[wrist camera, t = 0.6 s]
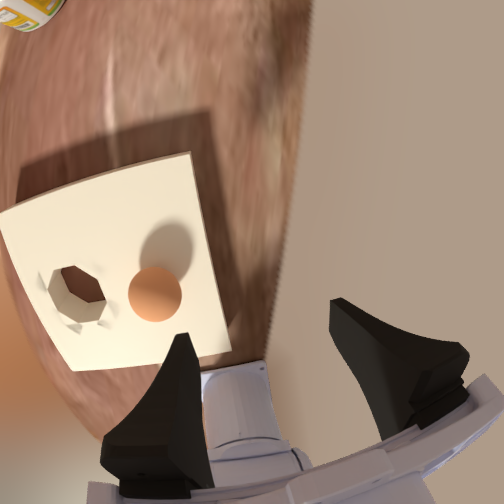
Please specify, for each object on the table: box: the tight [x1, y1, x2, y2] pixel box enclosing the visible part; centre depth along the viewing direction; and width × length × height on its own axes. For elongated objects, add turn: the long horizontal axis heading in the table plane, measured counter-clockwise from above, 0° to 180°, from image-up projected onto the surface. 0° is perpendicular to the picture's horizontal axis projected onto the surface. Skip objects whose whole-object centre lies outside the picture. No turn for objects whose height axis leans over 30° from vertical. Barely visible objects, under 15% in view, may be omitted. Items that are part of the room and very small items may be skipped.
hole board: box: [0, 151, 232, 371], centre depth 20 cm, size 16×16×3 cm
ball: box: [128, 267, 182, 322], centre depth 18 cm, size 4×4×4 cm
